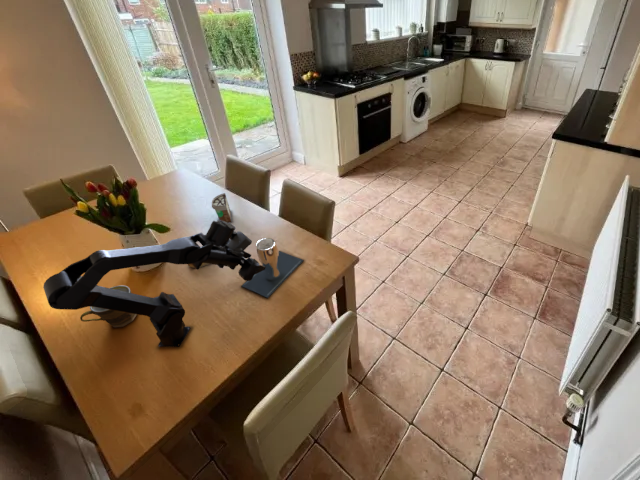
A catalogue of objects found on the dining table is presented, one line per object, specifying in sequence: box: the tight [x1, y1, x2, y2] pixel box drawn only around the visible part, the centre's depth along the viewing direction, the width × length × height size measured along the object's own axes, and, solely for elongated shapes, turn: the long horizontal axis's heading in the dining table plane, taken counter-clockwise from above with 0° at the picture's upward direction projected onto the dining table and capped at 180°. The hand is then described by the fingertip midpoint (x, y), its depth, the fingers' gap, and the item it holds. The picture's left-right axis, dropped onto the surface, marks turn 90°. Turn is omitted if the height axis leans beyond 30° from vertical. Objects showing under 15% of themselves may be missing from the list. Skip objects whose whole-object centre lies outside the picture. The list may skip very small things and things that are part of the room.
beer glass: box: [255, 237, 282, 280], centre depth 113 cm, size 7×7×15 cm
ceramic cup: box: [79, 284, 138, 328], centre depth 98 cm, size 13×10×10 cm
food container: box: [211, 192, 232, 224], centre depth 144 cm, size 12×6×10 cm, turn 25°
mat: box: [241, 250, 304, 299], centre depth 118 cm, size 20×12×1 cm, turn 155°
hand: (257, 262), depth 110 cm, fingers open, 9 cm apart
